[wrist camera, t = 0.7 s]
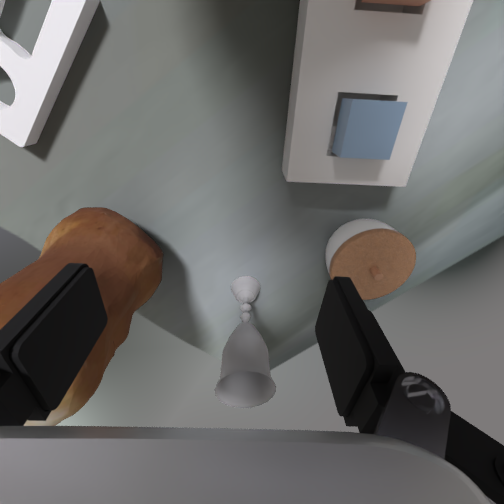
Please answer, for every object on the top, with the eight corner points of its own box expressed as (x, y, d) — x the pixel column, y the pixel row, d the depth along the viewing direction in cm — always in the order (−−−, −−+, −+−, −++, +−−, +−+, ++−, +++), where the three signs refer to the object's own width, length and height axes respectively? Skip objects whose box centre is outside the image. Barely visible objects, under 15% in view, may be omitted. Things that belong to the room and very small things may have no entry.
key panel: (313, -123, 22) (329, -176, 17) (475, -109, 22) (529, -155, 18) (281, 170, 34) (286, 181, 30) (386, 174, 35) (405, 186, 31)
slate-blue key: (342, 98, 26) (352, 99, 23) (391, 101, 26) (407, 102, 23) (331, 151, 28) (340, 157, 26) (376, 153, 29) (389, 159, 26)
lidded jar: (341, 279, 44) (362, 320, 36) (303, 238, 40) (317, 276, 32) (400, 240, 40) (438, 277, 32) (365, 191, 36) (398, 220, 28)
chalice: (235, 265, 42) (229, 364, 27) (273, 278, 44) (287, 379, 28) (219, 296, 46) (206, 401, 30) (255, 308, 47) (259, 412, 32)
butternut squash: (70, 251, 40) (-126, 432, 19) (90, 175, 34) (-165, 316, 13) (157, 286, 44) (74, 468, 23) (188, 223, 38) (115, 391, 17)
